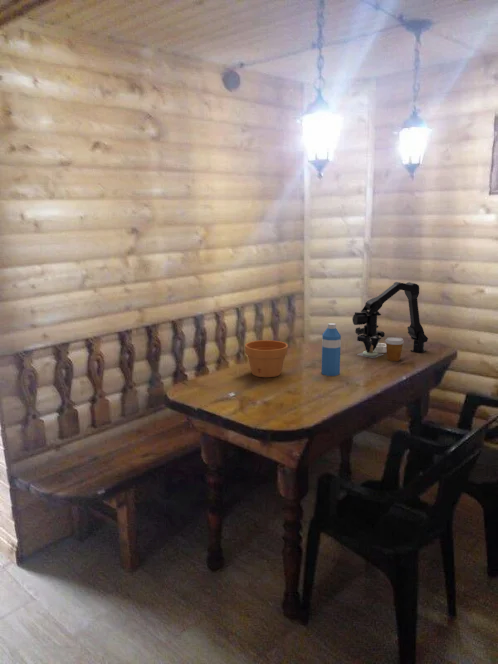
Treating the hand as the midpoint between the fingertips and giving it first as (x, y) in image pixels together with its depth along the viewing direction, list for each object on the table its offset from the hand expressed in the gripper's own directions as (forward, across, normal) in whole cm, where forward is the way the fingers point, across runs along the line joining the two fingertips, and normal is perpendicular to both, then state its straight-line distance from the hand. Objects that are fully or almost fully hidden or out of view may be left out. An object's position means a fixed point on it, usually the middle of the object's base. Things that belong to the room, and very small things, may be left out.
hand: (370, 351), depth 307 cm
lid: (+2, 0, 0) cm, 2 cm away
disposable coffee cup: (+3, 0, +14) cm, 15 cm away
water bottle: (+3, +41, +4) cm, 41 cm away
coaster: (+2, 0, 0) cm, 2 cm away
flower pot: (+3, +63, -20) cm, 66 cm away
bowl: (+2, -11, 0) cm, 11 cm away
